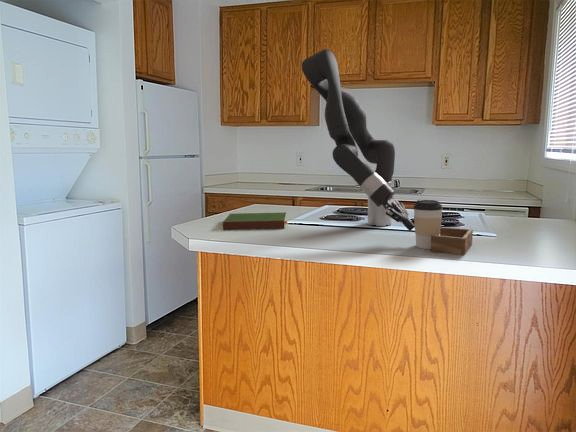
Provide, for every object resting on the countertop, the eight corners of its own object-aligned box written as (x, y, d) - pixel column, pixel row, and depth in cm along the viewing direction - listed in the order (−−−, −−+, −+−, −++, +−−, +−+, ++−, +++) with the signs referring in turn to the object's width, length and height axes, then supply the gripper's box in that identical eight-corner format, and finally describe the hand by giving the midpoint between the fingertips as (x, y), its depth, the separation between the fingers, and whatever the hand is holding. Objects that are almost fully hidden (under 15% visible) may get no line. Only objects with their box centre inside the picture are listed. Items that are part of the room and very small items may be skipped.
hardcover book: (223, 231, 185) (222, 221, 185) (230, 222, 204) (230, 213, 203) (286, 230, 184) (286, 220, 184) (288, 220, 203) (287, 212, 202)
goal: (440, 241, 157) (440, 227, 156) (472, 244, 152) (472, 229, 151) (430, 251, 145) (431, 235, 144) (464, 255, 140) (465, 238, 139)
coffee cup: (441, 243, 154) (443, 198, 152) (441, 250, 146) (443, 202, 143) (413, 242, 157) (414, 198, 154) (411, 248, 149) (412, 202, 146)
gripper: (378, 184, 150) (415, 225, 146) (391, 180, 161) (426, 217, 157) (362, 199, 153) (398, 240, 150) (376, 194, 165) (410, 232, 161)
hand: (412, 228), depth 153 cm, fingers closed
